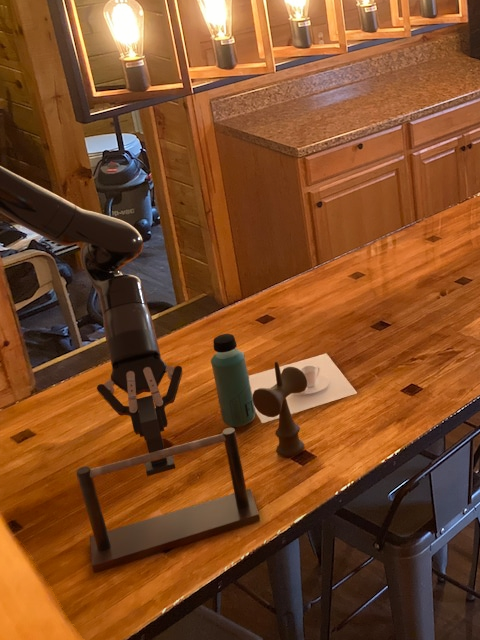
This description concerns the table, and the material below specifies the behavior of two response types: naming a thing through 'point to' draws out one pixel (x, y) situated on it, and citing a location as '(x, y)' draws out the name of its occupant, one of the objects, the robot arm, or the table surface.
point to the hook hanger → (152, 436)
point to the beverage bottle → (232, 382)
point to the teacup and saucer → (320, 389)
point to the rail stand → (170, 526)
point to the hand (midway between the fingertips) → (152, 432)
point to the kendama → (282, 407)
